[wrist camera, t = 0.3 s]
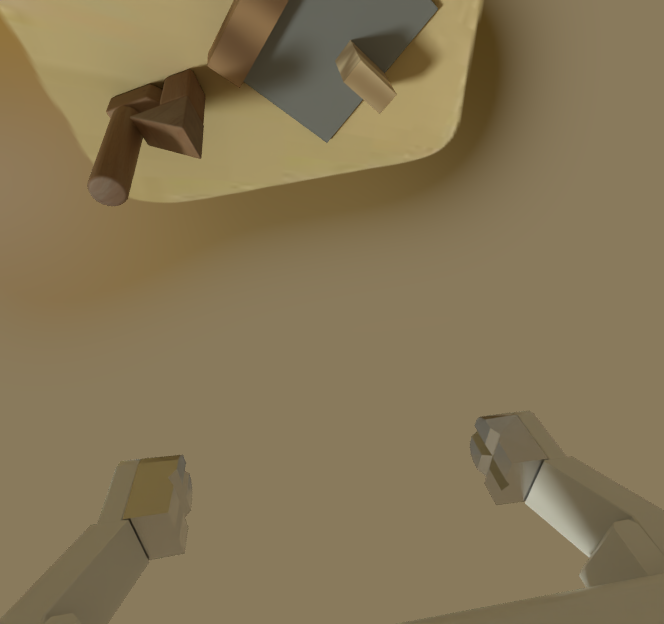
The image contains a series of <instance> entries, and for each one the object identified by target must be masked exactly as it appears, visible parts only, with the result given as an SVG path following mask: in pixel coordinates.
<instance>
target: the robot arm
mask: <svg viewBox="0 0 664 624" xmlns="http://www.w3.org/2000/svg"><path fill="white" fill-rule="evenodd" d="M475 427H476V429H477V432H476V433H475V434H474V435H473V436H472V437H471V441H470V451H471V456H472V459H473V462H474V464H475V466H476V468H477V469H478V470H479V471H480V472H482V473H483V474H484V475H486V478H485V485H486V487H487V489H488V491H489V493H490V495H491V497H492V498H493V500H494V502H495V504H496V505H501V504H508V503H516V502H524V501H526V502H525V504H526V505H528V506H529V507H530V508H531V509H532V510H534V511H535V512H536V513H537V514H538V515H539V516H541V517H542V518H543V519H544V520H545V521H547V522H548V523H549V524H550V525H551V526H553V527H554V528H555V529H556V530H557V531H558V532H560V533H561V534H562V535H563V536H564V537H566V538H567V539H568V540H569V541H570V542H571V543H573V544H574V545H575V546H576V547H577V548H579V549H580V550H581V551H582V552H583V553H584V554H586V555H587V556H588V557H589V559H588V561H587V562H586V563H585V565H584V566H583V568H582V569H581V572H580V575H579V576H580V578H581V579H582V581H583V583H584V585H585V586H586V588H582V589H577V590H572V591H567V592H561V593H556V594H551V595H545V596H541V597H535V598H530V599H525V600H519V601H514V602H509V603H503V604H498V605H493V606H488V607H482V608H477V609H472V610H466V611H461V612H456V613H450V614H445V615H440V616H435V617H429V618H424V619H419V620H414V621H408V622H403V623H398V624H664V510H662V509H661V508H659V507H657V506H656V505H654V504H652V503H651V502H649V501H647V500H645V499H644V498H642V497H640V496H639V495H637V494H635V493H634V492H632V491H630V490H628V489H627V488H625V487H623V486H622V485H620V484H618V483H617V482H615V481H613V480H611V479H610V478H608V477H606V476H605V475H603V474H601V473H600V472H598V471H596V470H595V469H593V468H591V467H589V466H588V465H586V464H584V463H583V462H581V461H579V460H577V459H576V458H574V457H572V456H570V457H567V456H566V455H565V453H564V452H563V451H562V449H561V448H560V447H559V446H558V444H557V443H556V442H555V440H554V439H553V438H552V437H551V435H550V434H549V433H548V431H547V430H546V429H545V428H544V426H543V425H542V423H541V422H540V421H539V419H538V418H537V417H536V416H535V414H534V413H533V412H531V411H522V412H514V413H503V414H496V415H489V416H482V417H479V418H478V419H477V420H476V423H475ZM185 465H186V462H185V459H184V456H183V455H175V456H166V457H155V458H145V459H136V460H128V461H121V462H120V463H119V464H118V466H117V467H116V469H115V473H114V476H113V479H112V482H111V485H110V487H109V491H108V494H107V497H106V500H105V502H104V505H103V508H102V511H101V514H100V517H99V520H98V523H97V524H93V525H90V526H89V527H88V528H87V529H86V531H84V533H83V534H82V535H81V536H80V537H79V538H78V539H77V540H76V541H75V542H74V543H73V544H72V545H71V546H70V547H69V548H68V549H67V550H66V551H65V552H64V554H62V555H61V556H60V557H59V559H57V561H56V562H55V563H54V564H53V565H52V566H51V567H50V568H49V569H48V570H47V571H46V572H45V573H44V574H43V575H42V576H41V577H40V578H39V579H38V580H37V581H36V582H35V583H34V584H33V585H32V587H30V589H29V590H28V591H27V592H26V593H25V594H24V595H23V596H22V597H21V598H20V599H19V600H18V601H17V602H16V603H15V604H14V605H13V606H12V607H11V608H10V609H9V610H8V611H7V612H6V613H5V615H4V616H2V618H1V619H0V624H108V623H109V621H110V620H111V618H112V617H113V615H114V614H115V612H116V611H117V609H118V608H119V606H120V605H121V603H122V602H123V601H124V599H125V598H126V596H127V595H128V593H129V592H130V590H131V589H132V587H133V586H134V584H135V583H136V581H137V580H138V578H139V577H140V575H141V573H142V572H143V571H144V569H145V568H146V566H147V565H148V563H149V561H148V560H152V559H158V558H163V557H169V556H174V555H180V554H184V553H185V546H186V540H187V532H188V525H187V522H186V519H185V517H186V515H187V514H188V513H189V512H190V511H191V504H192V484H191V477H190V474H189V473H188V472H186V471H185Z"/></svg>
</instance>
